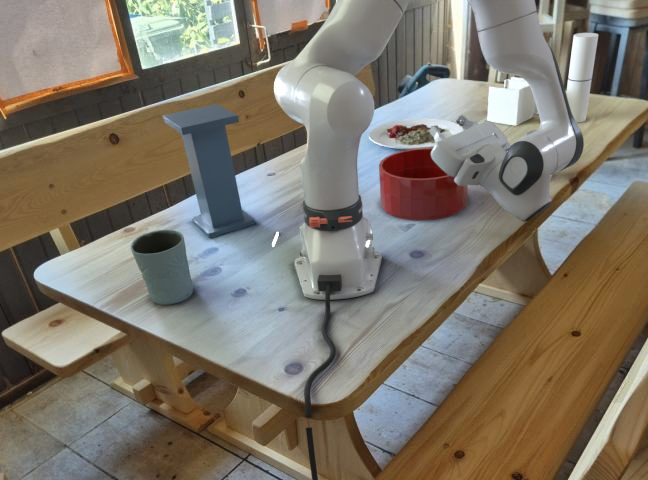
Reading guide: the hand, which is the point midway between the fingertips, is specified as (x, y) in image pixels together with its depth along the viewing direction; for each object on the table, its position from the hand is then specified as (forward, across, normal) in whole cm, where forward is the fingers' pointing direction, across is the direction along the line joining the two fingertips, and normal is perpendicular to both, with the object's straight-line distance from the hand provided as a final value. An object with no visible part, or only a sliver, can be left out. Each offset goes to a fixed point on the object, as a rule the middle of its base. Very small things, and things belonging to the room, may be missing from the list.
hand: (446, 122), depth 135 cm
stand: (+23, +40, +37) cm, 59 cm away
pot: (-4, 0, +21) cm, 22 cm away
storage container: (+15, -77, +33) cm, 85 cm away
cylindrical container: (-1, -80, +24) cm, 84 cm away
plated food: (+26, -37, +39) cm, 60 cm away
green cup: (+5, +66, +27) cm, 71 cm away
